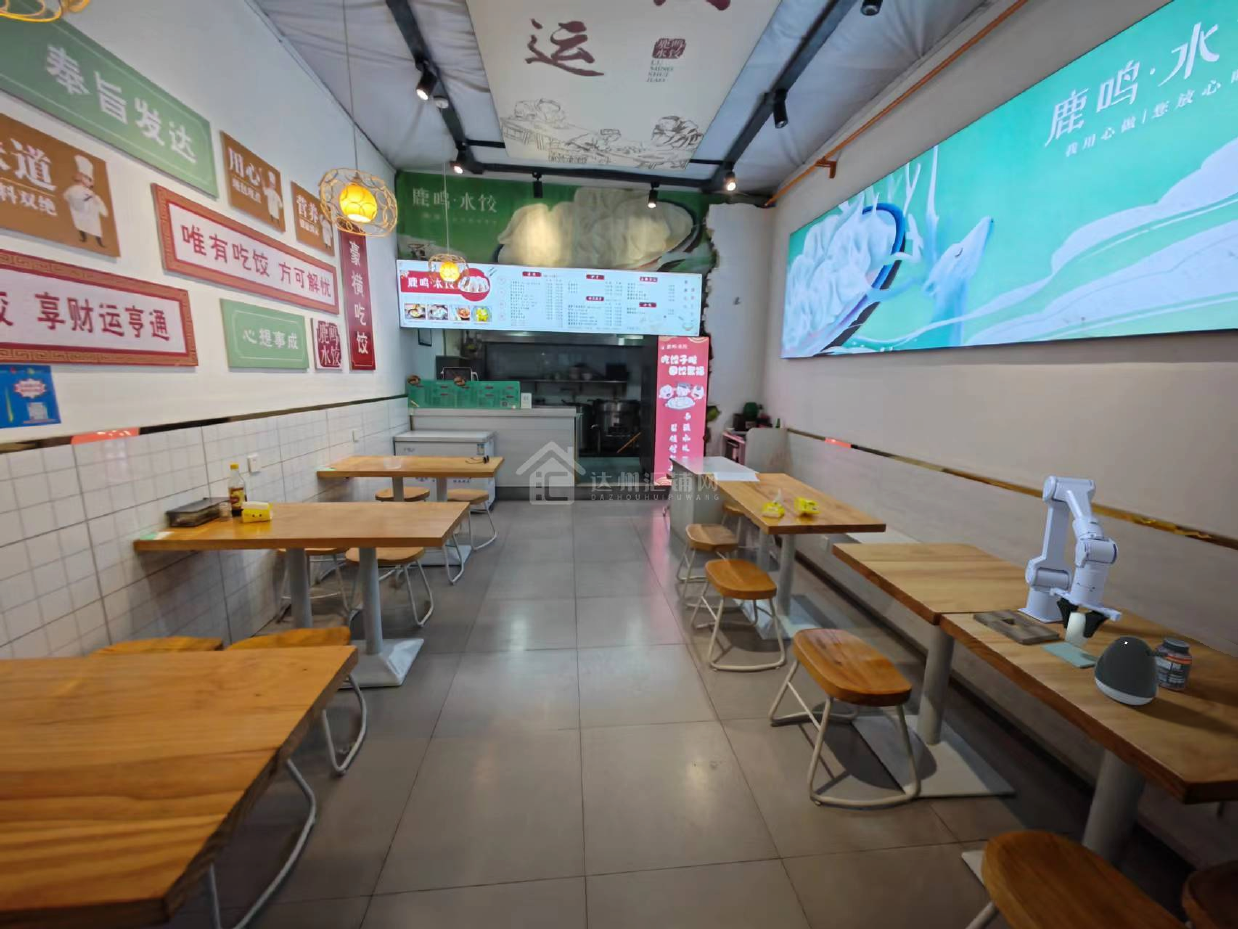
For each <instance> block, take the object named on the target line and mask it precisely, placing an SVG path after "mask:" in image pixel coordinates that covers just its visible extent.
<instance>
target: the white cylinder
mask: <svg viewBox="0 0 1238 929" xmlns="http://www.w3.org/2000/svg"><path fill="white" fill-rule="evenodd" d="M1085 613H1086V612H1084V611H1080V610H1077V611H1071V613H1070V618H1069V622H1068V627H1067V629H1066V631H1065V632H1066V633H1065V638H1064V640H1065V642H1067V643H1069V644H1071V645H1073V646H1075V647H1086V646H1087V640H1088V638H1085V637H1083V633H1084V629H1085V622H1086V620H1085Z"/></svg>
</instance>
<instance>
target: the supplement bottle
mask: <svg viewBox="0 0 1238 929" xmlns="http://www.w3.org/2000/svg"><path fill="white" fill-rule="evenodd" d="M1155 646H1156V647H1155V649H1154V650H1155V651H1162V652H1167V653H1168V655H1169V656H1168V657H1155V659H1156V662H1157V667H1158V673H1159V687H1161V688H1164V689H1166V690H1167V689H1168V690H1171V691H1178V692H1181V691H1184V690H1185V689H1186V687H1187V685H1188V684H1187V683H1188V679H1189V674H1190V673H1191V668H1192V664H1193V660H1194V658H1193V654H1191V653H1190V652H1189V651H1190V644H1188V643H1187V642H1185V641H1183V640H1180V639H1177V638H1173V637H1164V638H1163V642H1162V644H1161V643H1160V644H1158V645H1155Z"/></svg>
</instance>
